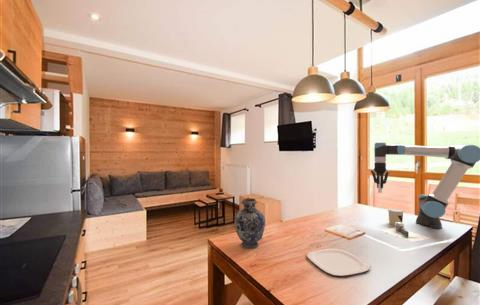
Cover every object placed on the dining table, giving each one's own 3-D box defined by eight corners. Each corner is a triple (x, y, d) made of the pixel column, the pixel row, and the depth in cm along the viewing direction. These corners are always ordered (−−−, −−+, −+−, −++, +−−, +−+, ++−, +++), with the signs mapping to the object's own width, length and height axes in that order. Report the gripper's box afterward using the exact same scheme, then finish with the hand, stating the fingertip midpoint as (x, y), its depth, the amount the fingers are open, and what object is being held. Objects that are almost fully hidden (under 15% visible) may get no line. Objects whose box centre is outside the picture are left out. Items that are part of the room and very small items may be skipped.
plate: (377, 272, 107) (377, 268, 107) (332, 281, 99) (332, 277, 99) (339, 249, 131) (339, 246, 131) (301, 255, 124) (301, 252, 124)
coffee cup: (401, 229, 162) (401, 212, 162) (386, 225, 169) (386, 210, 169) (404, 226, 168) (404, 210, 168) (390, 223, 175) (390, 207, 175)
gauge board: (396, 229, 162) (396, 226, 162) (431, 240, 141) (431, 238, 141) (377, 232, 156) (377, 230, 156) (411, 245, 135) (411, 242, 135)
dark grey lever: (394, 229, 157) (394, 221, 157) (402, 229, 156) (402, 222, 156) (402, 236, 145) (402, 227, 145) (411, 236, 143) (411, 228, 143)
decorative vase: (268, 252, 127) (267, 203, 126) (236, 254, 125) (234, 204, 125) (262, 237, 148) (261, 195, 148) (234, 239, 147) (233, 196, 146)
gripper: (369, 162, 177) (368, 191, 177) (387, 162, 166) (387, 194, 167) (373, 161, 181) (373, 190, 182) (391, 162, 171) (391, 193, 171)
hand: (380, 192), depth 174 cm, fingers closed
